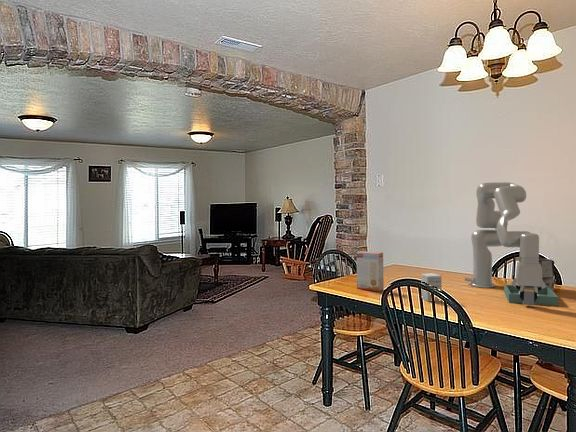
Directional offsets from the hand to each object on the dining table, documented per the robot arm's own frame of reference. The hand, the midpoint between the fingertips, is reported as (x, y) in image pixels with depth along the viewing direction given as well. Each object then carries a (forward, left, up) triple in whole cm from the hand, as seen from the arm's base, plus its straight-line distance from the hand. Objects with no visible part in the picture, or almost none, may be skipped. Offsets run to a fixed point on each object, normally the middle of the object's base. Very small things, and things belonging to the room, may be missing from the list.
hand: (528, 299), depth 187 cm
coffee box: (+13, +41, -3) cm, 44 cm away
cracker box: (-75, +13, -3) cm, 76 cm away
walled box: (+3, +16, -3) cm, 17 cm away
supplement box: (-42, -1, -3) cm, 42 cm away
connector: (0, 0, -2) cm, 2 cm away
